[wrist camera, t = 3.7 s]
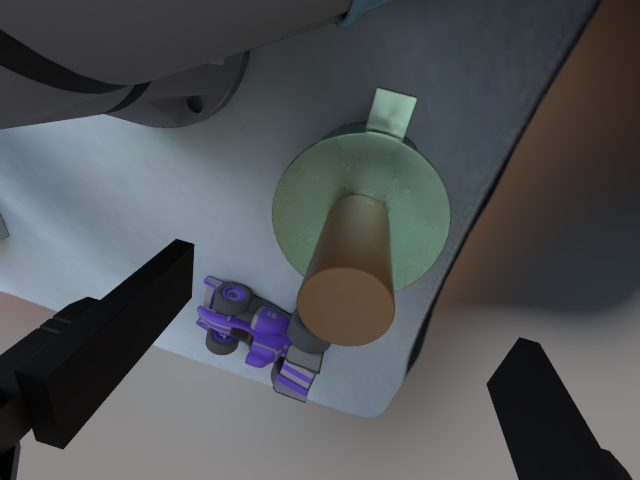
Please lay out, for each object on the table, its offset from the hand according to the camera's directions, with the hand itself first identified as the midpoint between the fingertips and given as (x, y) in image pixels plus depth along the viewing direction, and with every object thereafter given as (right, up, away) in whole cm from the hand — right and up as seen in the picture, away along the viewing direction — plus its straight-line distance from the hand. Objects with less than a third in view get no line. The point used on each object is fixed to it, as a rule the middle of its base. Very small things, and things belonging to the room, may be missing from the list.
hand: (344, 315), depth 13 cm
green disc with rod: (+1, +4, +8) cm, 9 cm away
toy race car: (-7, -6, +25) cm, 27 cm away
